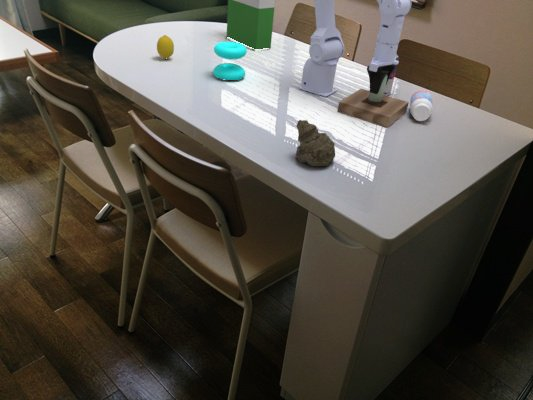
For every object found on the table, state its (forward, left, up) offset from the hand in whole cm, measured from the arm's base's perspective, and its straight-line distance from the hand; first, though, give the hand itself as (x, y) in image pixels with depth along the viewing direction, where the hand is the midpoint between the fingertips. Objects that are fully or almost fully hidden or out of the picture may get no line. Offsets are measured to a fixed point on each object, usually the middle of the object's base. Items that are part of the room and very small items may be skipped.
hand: (377, 91), depth 137 cm
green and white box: (-64, +29, -6) cm, 71 cm away
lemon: (-71, -9, -6) cm, 72 cm away
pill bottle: (+9, +13, -3) cm, 16 cm away
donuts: (-46, -7, -6) cm, 47 cm away
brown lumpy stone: (+3, -38, -6) cm, 39 cm away
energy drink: (-4, +17, -6) cm, 19 cm away
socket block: (0, 0, -6) cm, 6 cm away
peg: (0, 0, -2) cm, 2 cm away
